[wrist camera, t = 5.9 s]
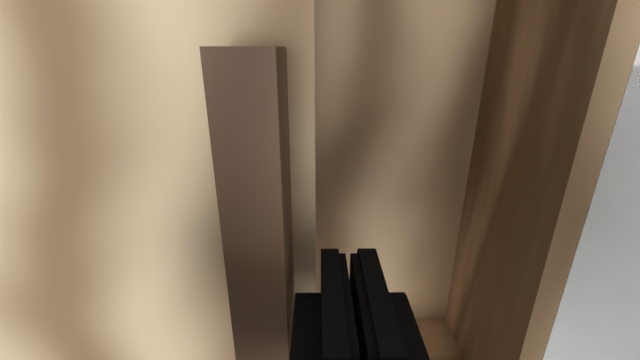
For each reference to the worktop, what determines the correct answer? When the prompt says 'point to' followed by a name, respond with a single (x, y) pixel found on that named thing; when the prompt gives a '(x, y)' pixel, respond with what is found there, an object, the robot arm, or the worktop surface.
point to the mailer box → (467, 153)
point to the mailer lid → (155, 178)
